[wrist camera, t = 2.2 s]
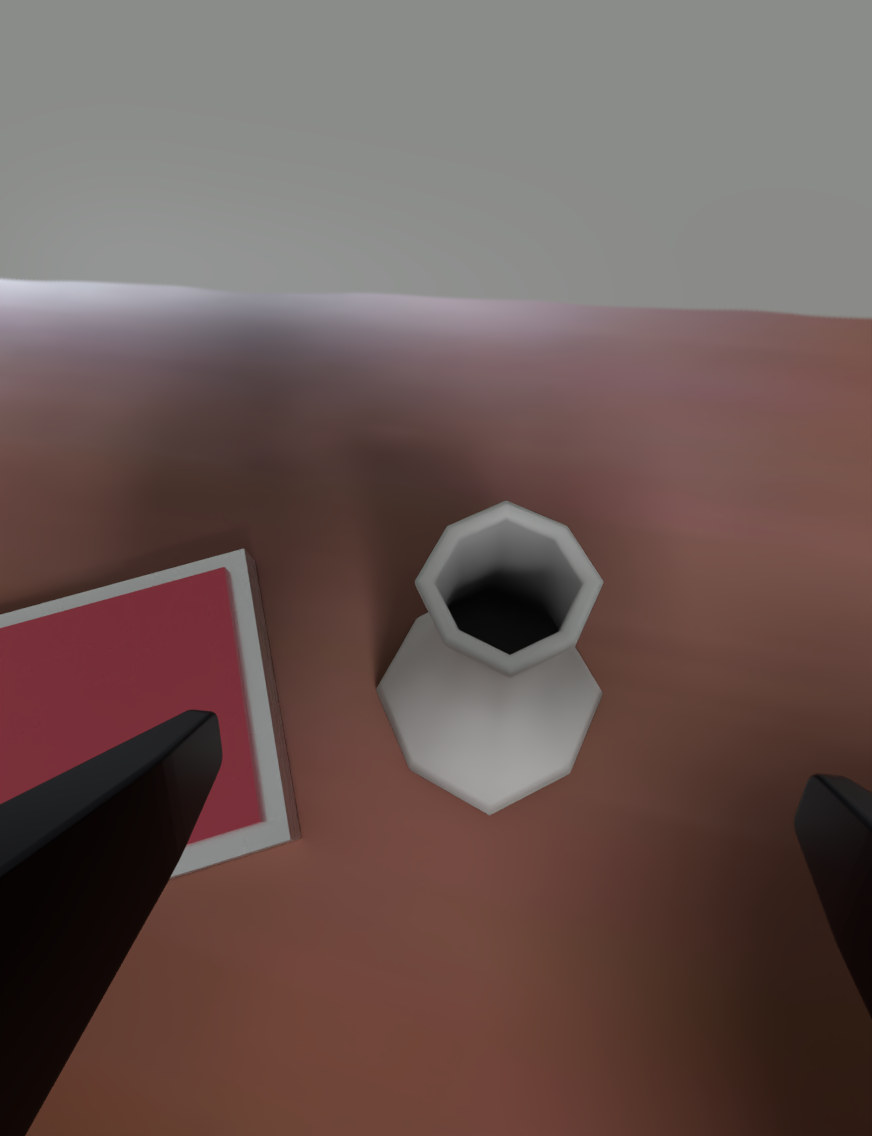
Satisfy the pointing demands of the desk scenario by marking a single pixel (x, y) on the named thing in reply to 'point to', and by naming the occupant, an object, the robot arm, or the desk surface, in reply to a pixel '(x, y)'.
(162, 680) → the ink pad
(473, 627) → the flask
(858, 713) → the desk surface
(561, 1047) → the desk surface
